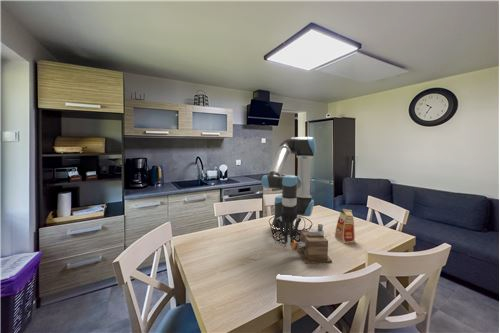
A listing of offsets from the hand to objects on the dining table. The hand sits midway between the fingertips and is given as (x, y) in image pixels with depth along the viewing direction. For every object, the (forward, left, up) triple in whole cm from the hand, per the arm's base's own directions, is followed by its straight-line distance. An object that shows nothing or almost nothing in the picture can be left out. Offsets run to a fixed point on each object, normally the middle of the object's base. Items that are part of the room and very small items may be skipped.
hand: (288, 248), depth 116 cm
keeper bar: (0, +15, +7) cm, 16 cm away
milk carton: (-18, +41, -5) cm, 45 cm away
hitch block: (0, +14, -4) cm, 14 cm away
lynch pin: (0, +10, -1) cm, 10 cm away
